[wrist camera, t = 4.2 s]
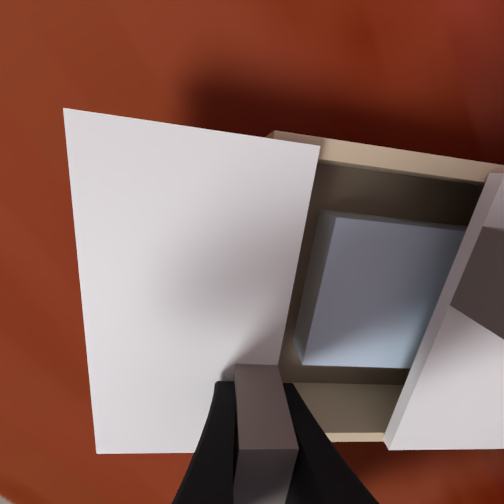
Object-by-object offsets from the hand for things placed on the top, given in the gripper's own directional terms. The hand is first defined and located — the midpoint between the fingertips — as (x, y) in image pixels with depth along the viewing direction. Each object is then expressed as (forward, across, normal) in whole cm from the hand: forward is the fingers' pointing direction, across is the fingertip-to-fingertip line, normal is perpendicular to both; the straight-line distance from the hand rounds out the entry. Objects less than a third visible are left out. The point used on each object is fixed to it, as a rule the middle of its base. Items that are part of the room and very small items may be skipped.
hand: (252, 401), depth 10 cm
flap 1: (+1, +3, -3) cm, 4 cm away
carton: (+4, -6, -3) cm, 8 cm away
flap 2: (+1, -10, -3) cm, 11 cm away
